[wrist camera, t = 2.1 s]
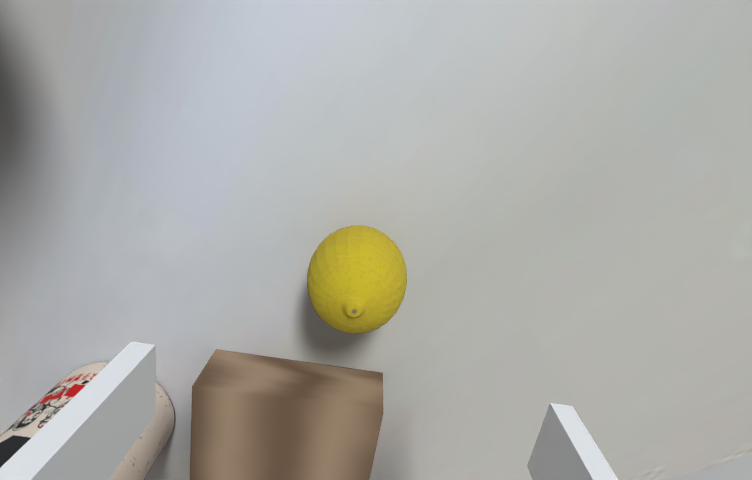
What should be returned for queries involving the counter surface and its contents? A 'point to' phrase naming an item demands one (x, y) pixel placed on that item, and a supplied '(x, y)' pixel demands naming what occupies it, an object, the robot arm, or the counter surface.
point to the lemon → (356, 279)
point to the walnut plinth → (283, 420)
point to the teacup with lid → (149, 442)
